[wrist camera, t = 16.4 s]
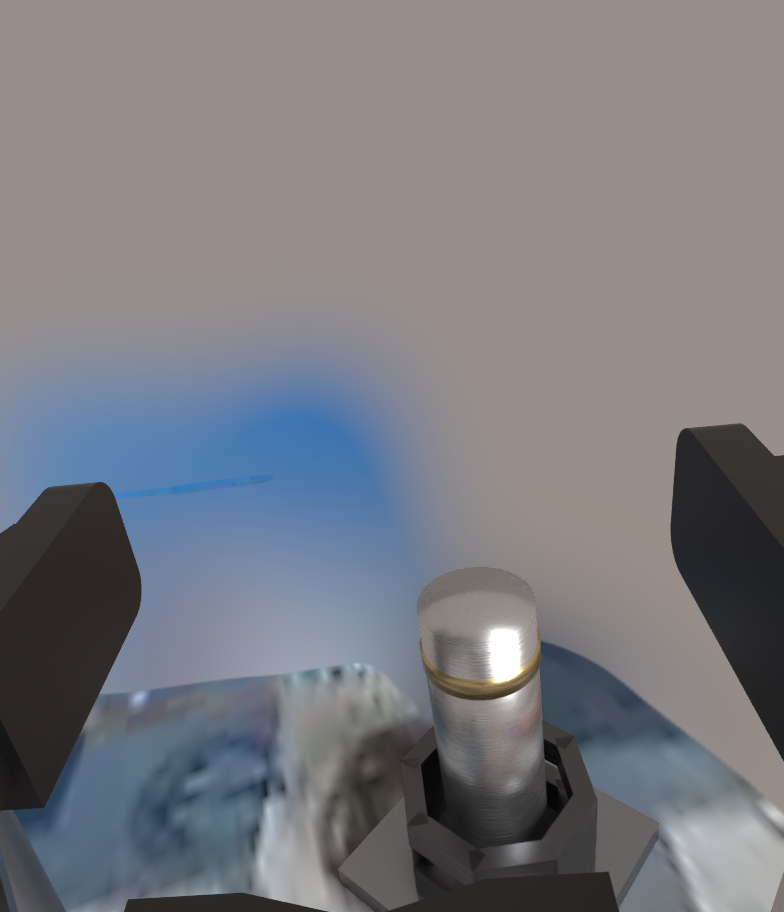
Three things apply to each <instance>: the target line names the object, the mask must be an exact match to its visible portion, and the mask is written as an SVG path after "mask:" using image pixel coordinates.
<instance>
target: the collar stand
mask: <svg viewBox="0 0 784 912" xmlns="http://www.w3.org/2000/svg"><path fill="white" fill-rule="evenodd" d="M542 726H543V743H544V759H545V760H547V761H549V762H551V763H553V764H555V765H556V766H557V767H556V766H554V765H552V764H550V763H548V762H546V761H545V778H546V795H547V813H548V832H547V833H546V835H545V836H544V837H543V839H542V840H538V841H531V842H524V843H517V844H510V845H503V846H496V847H489V848H482V849H477V848H475V847H474V846H472V845H471V844H469V843H468V842H466V841H465V840H463V839H462V838H460V837H459V836H458V835H456V834H455V833H453V832H452V831H450V830H449V823H448V816H447V810H446V803H445V796H444V790H443V783H442V776H441V769H440V763H439V756H438V749H437V742H436V736H435V729H434V726H433V727H432V728H431V729H430V730H429V731H428V732H427V733H426V734H425V735H424V736H423V737H422V738H421V740H420V741H419V742H418V743H417V744H416V745H415V746H414V747H413V748H412V749H411V750H410V751H409V752H408V753H407V754H406V755H405V756H404V757H403V759H402V760H400V766H401V773H402V782H403V792H404V796H403V797H402V798H401V799H400V801H399V802H398V803H397V804H396V805H395V806H394V807H393V808H392V809H391V811H390V812H389V813H388V814H387V815H386V816H385V817H384V818H383V819H382V821H381V822H380V823H379V824H378V825H377V826H376V827H375V828H374V829H373V830H372V832H371V833H370V834H369V835H368V836H367V837H366V838H365V839H364V840H363V842H362V843H361V844H360V845H359V846H358V847H357V848H356V849H355V850H354V852H353V853H352V854H351V855H350V856H349V857H348V858H347V859H346V860H345V861H344V863H343V864H342V865H341V866H340V867H339V868H338V872H339V876H340V880H341V883H342V884H343V885H344V886H345V887H346V888H348V889H349V890H350V891H351V892H353V893H354V894H355V895H356V896H358V897H359V898H360V899H361V900H362V901H364V902H365V903H366V904H367V905H369V906H370V907H371V908H372V909H373V910H375V911H376V912H386V911H389V910H392V909H395V908H398V907H401V906H404V905H408V904H411V903H414V902H417V901H420V900H423V899H426V898H429V897H432V896H435V895H438V894H441V893H444V892H447V891H451V890H454V889H457V888H460V887H463V886H466V885H469V884H472V883H475V882H478V881H481V880H484V879H489V878H506V877H523V876H541V875H558V874H575V873H592V872H609V874H610V878H611V882H612V886H613V890H614V894H615V898H616V902H617V905H618V908H619V906H620V904H621V903H622V901H623V899H624V897H625V896H626V894H627V892H628V890H629V889H630V887H631V885H632V883H633V881H634V880H635V878H636V876H637V874H638V873H639V871H640V869H641V867H642V866H643V864H644V862H645V860H646V858H647V857H648V855H649V853H650V851H651V850H652V848H653V846H654V844H655V842H656V841H657V839H658V834H659V822H657V821H655V820H653V819H651V818H649V817H648V816H646V815H644V814H642V813H640V812H638V811H637V810H635V809H633V808H631V807H629V806H627V805H626V804H624V803H622V802H620V801H618V800H616V799H615V798H613V797H611V796H609V795H607V794H605V793H603V792H602V791H600V790H598V789H596V788H594V787H592V784H591V781H590V778H589V776H588V773H587V770H586V768H585V765H584V762H583V760H582V757H581V754H580V751H579V749H578V746H577V743H576V741H575V737H574V736H572V735H570V734H568V733H566V732H564V731H562V730H560V729H558V728H556V727H554V726H552V725H550V724H548V723H547V722H545V721H543V720H542Z"/></svg>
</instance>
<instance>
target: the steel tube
mask: <svg viewBox="0 0 784 912" xmlns="http://www.w3.org/2000/svg"><path fill="white" fill-rule="evenodd" d="M417 614H418V621H419V628H420V634H421V638H420V650H421V657H422V663H423V668H424V671H425V674H426V676H427V682H428V688H429V695H430V702H431V709H432V715H433V722H434V729H435V736H436V742H437V749H438V756H439V763H440V769H441V776H442V783H443V790H444V796H445V803H446V810H447V816H448V823H449V830H450V831H452V832H453V833H455V834H456V835H458V836H459V837H460V838H462V839H463V840H465V841H466V842H468V843H469V844H471V845H472V846H474V847H475V848H477V849H482V848H489V847H496V846H503V845H510V844H517V843H524V842H531V841H538V840H542V839H543V837H544V836H545V835H546V833H547V832H548V813H547V795H546V778H545V760H544V743H543V726H542V708H541V691H540V673H539V666H540V662H541V650H540V636H539V631H538V629H537V621H536V604H535V596H534V593H533V591H532V589H531V588H530V586H529V585H528V584H527V583H526V582H525V581H524V580H522V579H521V578H520V577H518V576H516V575H514V574H512V573H510V572H507V571H504V570H501V569H496V568H488V567H472V568H464V569H459V570H456V571H452V572H449V573H447V574H444V575H442V576H440V577H438V578H437V579H435V580H433V581H432V582H431V583H430V584H429V585H428V586H426V587H425V589H424V590H423V591H422V592H421V595H420V596H419V598H418V602H417Z"/></svg>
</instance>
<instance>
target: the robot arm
mask: <svg viewBox="0 0 784 912" xmlns="http://www.w3.org/2000/svg"><path fill="white" fill-rule="evenodd" d="M671 543H672V549H673V554H674V558H675V561H676V564H677V567H678V569H679V572H680V573H681V575H682V577H683V579H684V581H685V583H686V585H687V586H688V588H689V590H690V591H691V594H692V595H693V597H694V599H695V601H696V603H697V604H698V606H699V608H700V610H701V612H702V614H703V615H704V617H705V619H706V621H707V623H708V624H709V626H710V628H711V630H712V632H713V634H714V635H715V637H716V639H717V641H718V643H719V644H720V646H721V648H722V650H723V652H724V654H725V655H726V657H727V659H728V661H729V663H730V665H731V666H732V668H733V670H734V672H735V674H736V675H737V677H738V679H739V681H740V683H741V684H742V686H743V688H744V690H745V692H746V694H747V695H748V697H749V699H750V701H751V703H752V705H753V706H754V708H755V710H756V712H757V713H758V715H759V717H760V719H761V721H762V723H763V724H764V726H765V728H766V730H767V732H768V733H769V735H770V737H771V739H772V741H773V743H774V744H775V746H776V748H777V750H778V751H779V754H780V755H781V757H782V759H783V761H784V455H782V456H774V455H773V454H772V453H771V452H770V451H769V450H768V449H767V448H766V447H765V446H764V445H763V444H762V443H761V442H760V441H759V440H758V439H757V438H756V436H755V435H754V434H753V433H752V432H751V431H750V430H749V429H748V428H747V427H746V426H744V425H743V424H728V425H717V426H707V427H696V428H685V429H683V430H682V431H681V432H680V434H679V437H678V441H677V447H676V460H675V474H674V486H673V500H672V514H671ZM140 602H141V578H140V573H139V569H138V566H137V563H136V560H135V557H134V554H133V551H132V548H131V545H130V542H129V539H128V536H127V533H126V530H125V527H124V524H123V521H122V518H121V514H120V511H119V508H118V505H117V502H116V499H115V497H114V494H113V492H112V491H111V489H110V488H109V486H107V485H106V484H105V483H103V482H97V483H86V484H75V485H64V486H54V487H49V488H47V489H45V490H44V491H43V492H42V494H41V495H40V496H39V497H38V498H37V500H36V501H35V502H34V503H33V504H32V506H31V507H30V508H29V509H28V510H27V511H26V513H25V514H24V515H23V516H22V517H21V519H20V520H19V521H18V522H17V523H16V524H13V525H12V526H10V527H9V528H8V529H6V530H5V531H3V532H2V533H0V912H66V911H65V909H64V907H63V905H62V903H61V901H60V899H59V897H58V895H57V893H56V891H55V890H54V888H53V886H52V884H51V882H50V880H49V878H48V876H47V874H46V872H45V870H44V869H43V867H42V865H41V863H40V861H39V859H38V857H37V855H36V853H35V851H34V849H33V848H32V846H31V844H30V842H29V840H28V838H27V836H26V834H25V832H24V830H23V828H22V827H21V825H20V823H19V821H18V819H17V817H16V815H15V813H14V811H13V810H17V809H32V808H44V807H45V805H46V803H47V800H48V798H49V796H50V794H51V792H52V790H53V788H54V786H55V784H56V782H57V780H58V778H59V776H60V774H61V771H62V769H63V767H64V765H65V763H66V761H67V759H68V757H69V755H70V753H71V751H72V749H73V747H74V745H75V742H76V740H77V738H78V736H79V734H80V732H81V730H82V728H83V726H84V724H85V722H86V720H87V718H88V716H89V713H90V711H91V709H92V707H93V705H94V703H95V701H96V699H97V697H98V695H99V693H100V691H101V689H102V686H103V684H104V682H105V680H106V678H107V676H108V674H109V672H110V670H111V668H112V666H113V664H114V661H115V660H116V657H117V655H118V653H119V651H120V649H121V647H122V645H123V643H124V641H125V639H126V637H127V635H128V633H129V630H130V628H131V626H132V624H133V622H134V620H135V618H136V616H137V614H138V611H139V607H140ZM124 912H327V911H322V910H318V909H313V908H309V907H304V906H300V905H295V904H291V903H286V902H282V901H277V900H273V899H268V898H264V897H259V896H255V895H250V894H246V893H230V894H213V895H196V896H179V897H161V898H144V899H128V901H127V904H126V907H125V911H124ZM386 912H619V909H618V905H617V902H616V898H615V894H614V890H613V886H612V882H611V878H610V874H609V872H592V873H575V874H558V875H541V876H523V877H506V878H489V879H484V880H481V881H478V882H475V883H472V884H469V885H466V886H463V887H460V888H457V889H454V890H451V891H447V892H444V893H441V894H438V895H435V896H432V897H429V898H426V899H423V900H420V901H417V902H414V903H411V904H408V905H404V906H401V907H398V908H395V909H392V910H389V911H386ZM771 912H784V873H783V876H782V879H781V882H780V885H779V888H778V891H777V894H776V897H775V900H774V903H773V907H772V910H771Z"/></svg>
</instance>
